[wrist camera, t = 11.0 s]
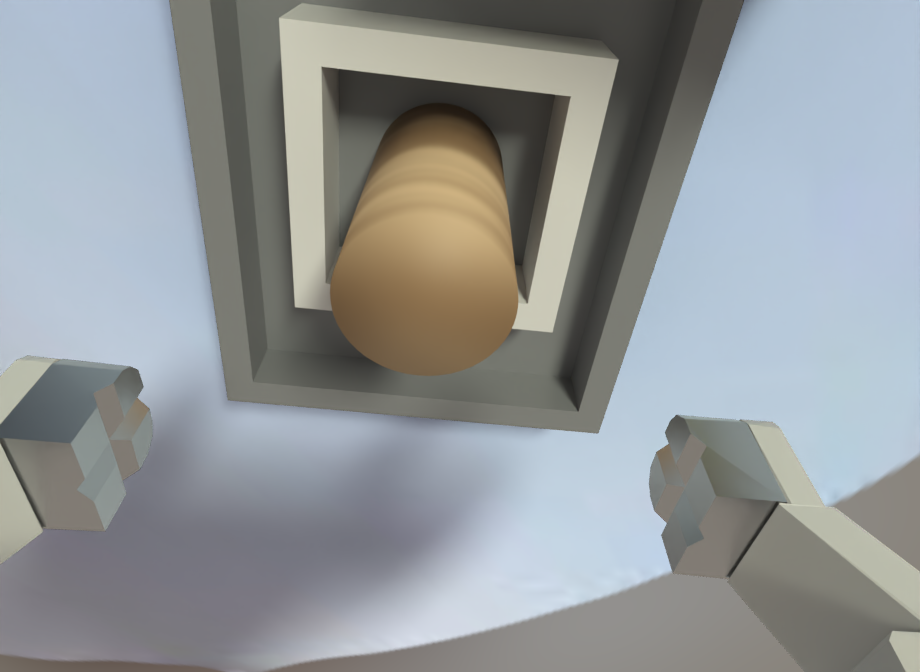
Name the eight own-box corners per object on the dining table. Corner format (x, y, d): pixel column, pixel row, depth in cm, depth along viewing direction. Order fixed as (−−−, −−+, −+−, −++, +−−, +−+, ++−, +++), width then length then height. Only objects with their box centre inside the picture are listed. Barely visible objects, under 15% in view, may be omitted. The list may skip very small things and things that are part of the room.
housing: (185, -242, 15) (118, -274, 12) (749, -160, 16) (811, -173, 13) (251, 351, 25) (223, 409, 22) (586, 383, 26) (600, 442, 23)
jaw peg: (378, 95, 18) (328, 205, 12) (511, 111, 19) (534, 227, 12) (374, 218, 21) (330, 367, 14) (493, 231, 21) (503, 383, 14)
